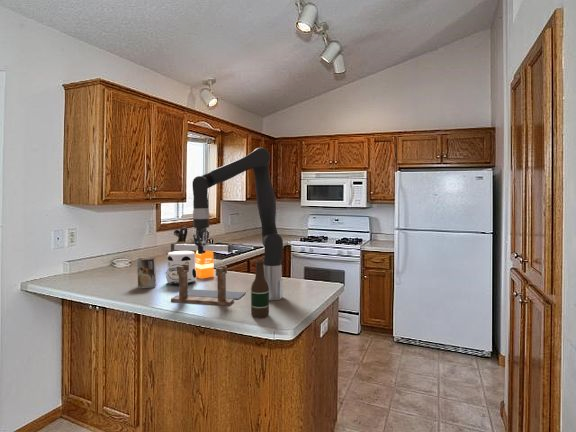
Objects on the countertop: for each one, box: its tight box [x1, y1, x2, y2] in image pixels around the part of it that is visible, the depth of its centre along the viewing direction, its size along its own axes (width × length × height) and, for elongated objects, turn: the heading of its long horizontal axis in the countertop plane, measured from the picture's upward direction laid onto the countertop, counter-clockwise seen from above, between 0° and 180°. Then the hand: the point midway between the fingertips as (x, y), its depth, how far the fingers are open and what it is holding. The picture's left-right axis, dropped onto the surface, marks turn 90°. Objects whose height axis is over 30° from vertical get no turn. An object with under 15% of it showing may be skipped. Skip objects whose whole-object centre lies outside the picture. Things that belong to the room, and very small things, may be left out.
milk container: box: [165, 250, 198, 286], centre depth 216 cm, size 17×17×18 cm
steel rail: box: [170, 242, 234, 254], centre depth 177 cm, size 30×4×4 cm, turn 79°
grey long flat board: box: [188, 288, 247, 300], centre depth 192 cm, size 32×12×1 cm, turn 79°
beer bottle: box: [250, 259, 270, 319], centre depth 158 cm, size 8×8×24 cm
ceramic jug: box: [170, 226, 191, 252], centre depth 250 cm, size 17×15×30 cm
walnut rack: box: [170, 264, 235, 306], centre depth 178 cm, size 30×6×18 cm, turn 79°
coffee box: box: [136, 257, 157, 289], centre depth 207 cm, size 9×6×16 cm
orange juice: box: [195, 251, 215, 279], centre depth 233 cm, size 8×9×20 cm
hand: (201, 253), depth 177 cm, fingers closed on steel rail, 2 cm apart
